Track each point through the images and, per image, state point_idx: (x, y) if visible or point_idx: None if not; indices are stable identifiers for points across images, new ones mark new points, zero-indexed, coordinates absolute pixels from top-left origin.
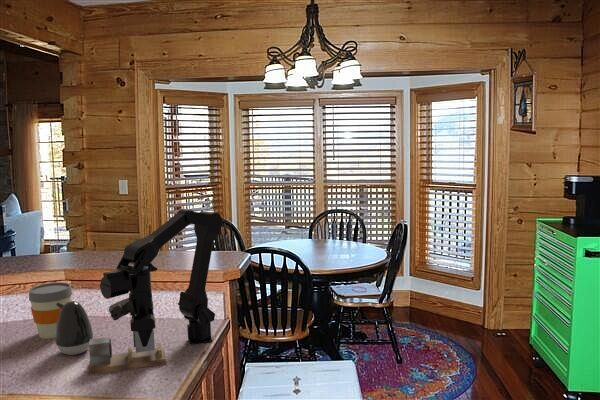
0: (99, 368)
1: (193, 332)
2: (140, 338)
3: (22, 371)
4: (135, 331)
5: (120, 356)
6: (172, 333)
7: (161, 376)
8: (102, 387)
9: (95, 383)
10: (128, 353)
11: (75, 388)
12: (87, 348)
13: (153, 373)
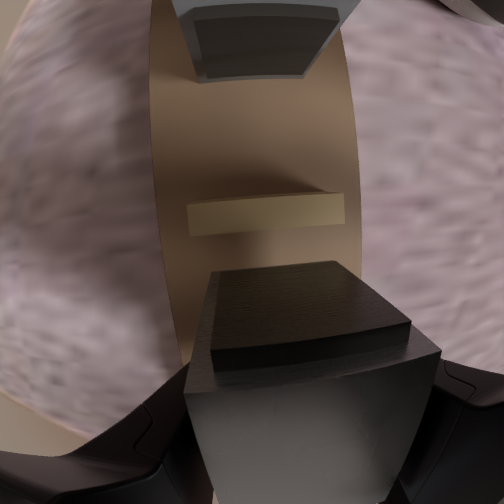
0: (151, 38)
1: (396, 480)
2: (154, 397)
3: None
4: (199, 406)
5: (306, 138)
6: (494, 360)
7: (71, 366)
8: (15, 114)
9: (58, 67)
10: (213, 209)
11: (53, 10)
12: (448, 5)
13: (97, 338)
